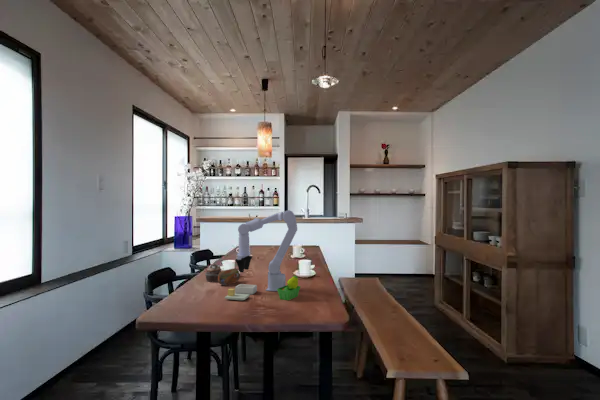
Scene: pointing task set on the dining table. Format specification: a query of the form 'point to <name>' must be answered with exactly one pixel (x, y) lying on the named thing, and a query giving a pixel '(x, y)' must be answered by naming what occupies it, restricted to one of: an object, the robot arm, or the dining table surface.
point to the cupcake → (213, 273)
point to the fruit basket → (289, 289)
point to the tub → (245, 289)
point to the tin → (228, 276)
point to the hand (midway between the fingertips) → (244, 270)
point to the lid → (236, 295)
